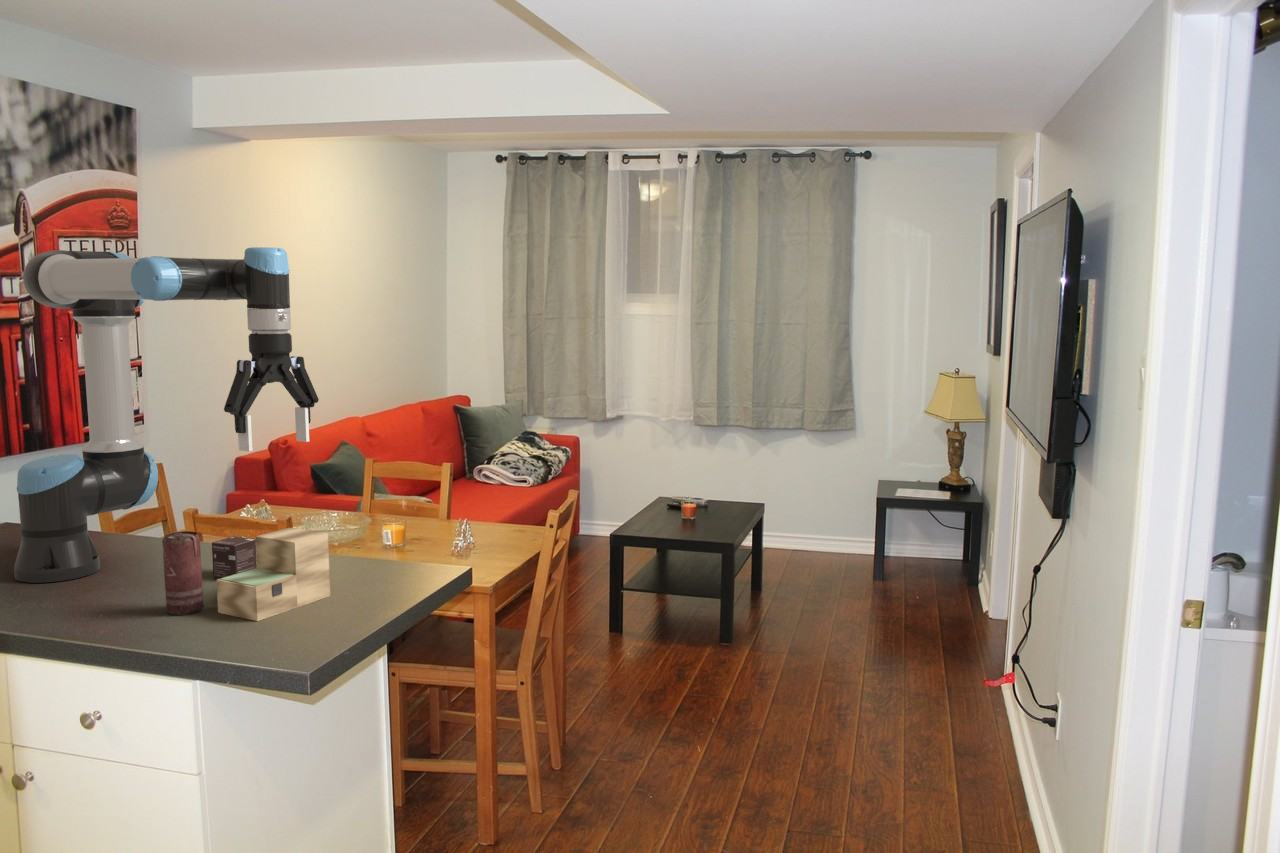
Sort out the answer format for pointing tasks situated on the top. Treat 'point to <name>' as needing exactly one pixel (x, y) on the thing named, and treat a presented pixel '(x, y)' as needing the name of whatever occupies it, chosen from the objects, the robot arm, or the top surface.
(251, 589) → the stand
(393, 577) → the top surface
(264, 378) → the robot arm
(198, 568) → the can
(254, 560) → the box
